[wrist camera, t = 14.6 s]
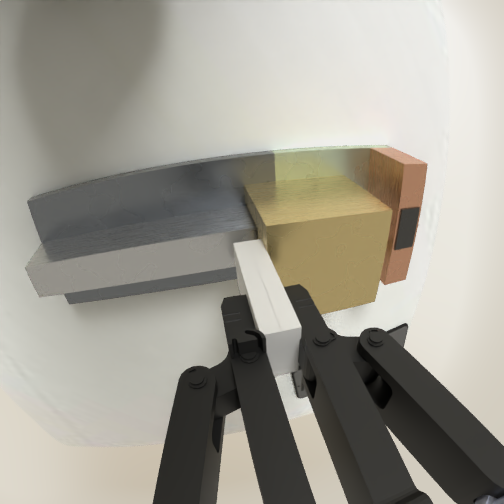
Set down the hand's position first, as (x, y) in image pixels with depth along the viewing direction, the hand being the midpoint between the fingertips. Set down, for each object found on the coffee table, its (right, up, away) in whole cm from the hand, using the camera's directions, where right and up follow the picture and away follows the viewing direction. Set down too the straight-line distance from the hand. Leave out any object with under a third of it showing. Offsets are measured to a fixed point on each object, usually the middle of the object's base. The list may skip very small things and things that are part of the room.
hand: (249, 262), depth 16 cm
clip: (+3, +3, +5) cm, 6 cm away
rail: (-2, +3, +4) cm, 6 cm away
